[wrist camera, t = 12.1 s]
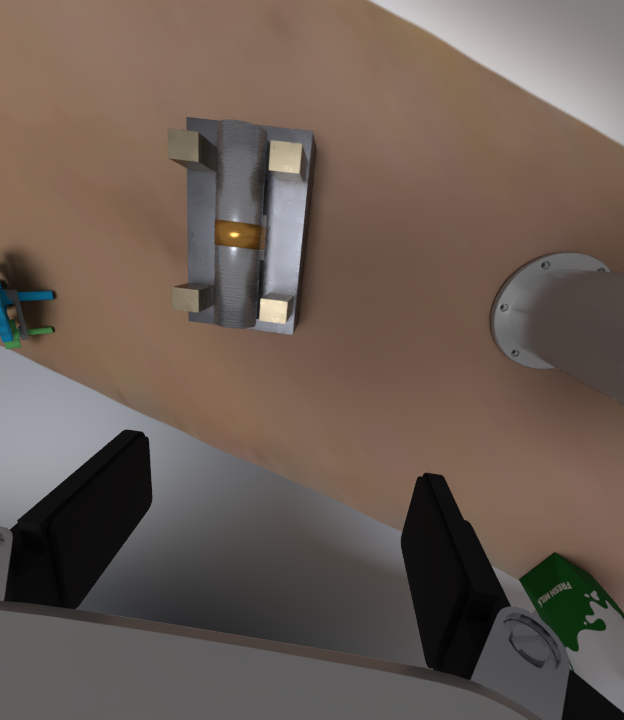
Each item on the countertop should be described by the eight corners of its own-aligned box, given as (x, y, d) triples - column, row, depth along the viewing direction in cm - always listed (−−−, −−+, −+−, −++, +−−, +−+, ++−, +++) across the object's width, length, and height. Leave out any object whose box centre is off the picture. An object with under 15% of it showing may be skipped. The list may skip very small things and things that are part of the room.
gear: (-29, 240, 36) (-34, 264, 30) (39, 242, 40) (48, 264, 34) (-2, 330, 41) (-1, 367, 35) (56, 325, 45) (67, 357, 39)
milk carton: (554, 606, 50) (686, 825, 31) (509, 579, 49) (617, 789, 30) (600, 573, 47) (777, 791, 28) (554, 544, 46) (705, 751, 27)
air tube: (225, 134, 28) (208, 116, 24) (272, 140, 28) (262, 123, 24) (220, 316, 33) (206, 324, 29) (260, 320, 33) (251, 330, 29)
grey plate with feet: (316, 148, 32) (308, 112, 24) (298, 324, 38) (286, 345, 30) (208, 136, 33) (162, 96, 24) (206, 312, 39) (170, 330, 30)
